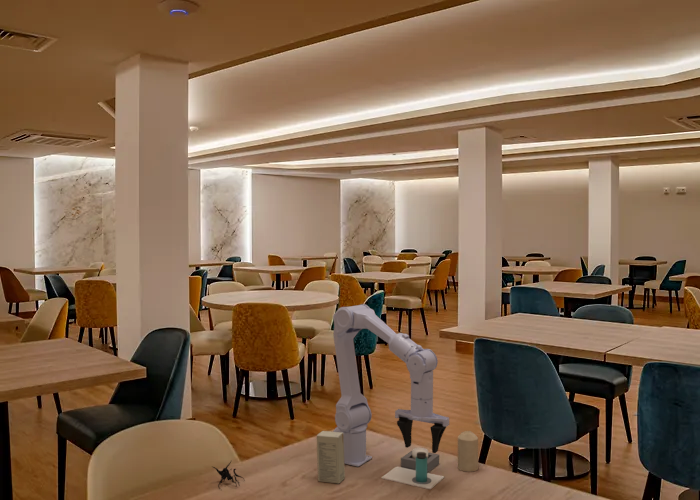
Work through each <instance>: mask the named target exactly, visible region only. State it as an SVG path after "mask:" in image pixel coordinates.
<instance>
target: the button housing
mask: <svg viewBox="0 0 700 500" xmlns="http://www.w3.org/2000/svg"><path fill="white" fill-rule="evenodd" d="M439 465H440V454H439V453H432V452H429V451H428V459H427V473H430V472H431V471H432V470H434V469H435V468H436V467H437V466H439ZM400 467H402V468H407V469H412V470H416V459H413V458H412V450H410V451H409V452H408V453H406V454H405V455H403V456H402V457H400Z"/></svg>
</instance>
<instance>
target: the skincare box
mask: <svg viewBox="0 0 700 500" xmlns="http://www.w3.org/2000/svg"><path fill="white" fill-rule="evenodd" d="M316 458H317V459H316V460H317V461H316V462H317V481H318V482H322V483H323V482H324V483H332V484H340V483H341V482H342V481H344V479H345V477H346V475H345V464H344V436H343V432H333V431H329V430H322V431H321V432H319V433H318V434H317V435H316Z"/></svg>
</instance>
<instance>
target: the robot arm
mask: <svg viewBox="0 0 700 500" xmlns="http://www.w3.org/2000/svg"><path fill="white" fill-rule="evenodd" d="M332 317H333V318H332V319H333V325H334V328H333V332H332V333H333V342H334V344H333V345H334V348H335V357H336V365H337V372H338V380H339V387H340V394H341V396H340V398H339V399H338V401H337V402H336V404H335V415H334V420H335V421H334V422H335V425H336V427H335V428H334V430H333V431H332V432H343V436H344V465H350V466H353V467H360V466H362V465H364V464H365V463H367V462H368V461H370V460H371V459H372V458H373V456H371V455H368V454H367V428H368V426H369V425H368V424H369V423H370V422H371V420H372V415H373V413H372V410H371V408H370V406H369V403H368V398H367V397H365V396H364V394H362V393H361V386H360V379H359V373H358V364H357V358H356V357H357V356H356V350H355V342H354V338H355V337H356V335H358V333H359V332H360V331H362V330H364V329H365V330H368V331H370V332H371V333H373V334H374V335H376V336H377V337H379V338H380V339H381V340H383V341H384V342H386V343H387V344H388V350H389V352H391V353H393V354H394V356H396V357H397V358H398V359H400V360H401V361H403V363H405V365H406V369H407V371H408V373H409V379H410V409H402V408H401V409H400V408H398V409H396V410H395V411H394V418H395V419H398V420H397V421H396V425H397V427H398V428H399V431H400V433H401V435H402V438H403V441H404V447H405V448H406V449H407V448H408V449H409V447H411V446H412V430H413V429H412V428H413V423H414V421H415V422H421V423H427V424H433V425H432V426H430V432H431V440H432V441H431V442H432V444H431V445H432V446H431V450H432V451H431V453H434V454H437V452H439V447H440V443H441V440H442V437H443V434H444V432H445V430H446V428H447V427H448V426H450V417H449V416H444V415H441V414H437V413H434V400H433V399H434V370H435V369H436V368H437V366H438V362H439V360H438V356H437V355H436V353H435V352H434V351H433V350H432V349H430V348H423V346H422V345H420V344H417V343H416V342H415V341H414V340H412V339H411V338H410V335H409V334H408V333H403V332H399V333H397V332H395V331H394V330H393V329H392V328H391V327H390V326H389V325H387V324H386V322H385V321H383V320H382V319H381V318H379V316H378V315H376V313H375V310H374V309H373V308H370V306H368V305H367V304H365V303H360V304H358V305H352V306H341V307H339V308H337V310H336V312H335V313H334V314H333V316H332Z"/></svg>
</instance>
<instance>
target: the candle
mask: <svg viewBox="0 0 700 500" xmlns="http://www.w3.org/2000/svg"><path fill="white" fill-rule="evenodd" d="M457 468H458V470H460V471H463V472H467V473H472V472H476V471H478V470H479V437H478V436H477V434H475V433H474V432H473V431H471V430H464V431H462V432H461V433H460V434H459V435H458V436H457Z"/></svg>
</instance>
